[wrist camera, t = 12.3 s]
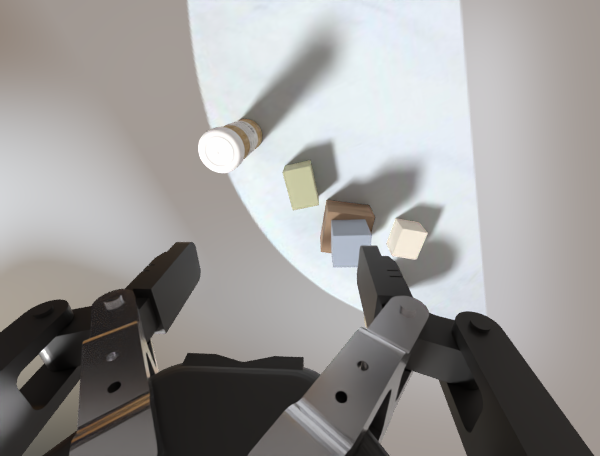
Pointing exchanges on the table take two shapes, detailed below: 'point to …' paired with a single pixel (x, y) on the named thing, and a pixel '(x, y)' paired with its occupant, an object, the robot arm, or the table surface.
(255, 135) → the sprinkles bottle
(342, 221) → the slate block
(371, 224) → the walnut block
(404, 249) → the cream block
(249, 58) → the table surface
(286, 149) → the table surface
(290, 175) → the olive block
